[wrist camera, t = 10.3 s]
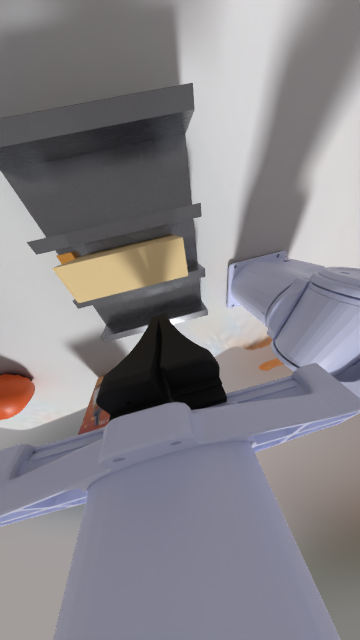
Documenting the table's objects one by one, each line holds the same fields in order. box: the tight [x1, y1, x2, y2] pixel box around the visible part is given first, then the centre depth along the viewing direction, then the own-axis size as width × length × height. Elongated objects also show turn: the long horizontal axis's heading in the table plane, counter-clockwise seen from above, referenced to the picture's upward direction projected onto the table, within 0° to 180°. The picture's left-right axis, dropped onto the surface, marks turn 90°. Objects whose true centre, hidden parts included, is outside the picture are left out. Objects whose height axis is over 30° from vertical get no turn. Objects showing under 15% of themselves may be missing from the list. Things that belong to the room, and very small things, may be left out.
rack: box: [0, 83, 208, 342], centre depth 15 cm, size 16×19×4 cm
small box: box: [78, 375, 110, 435], centre depth 27 cm, size 8×6×10 cm
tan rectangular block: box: [52, 234, 188, 303], centre depth 13 cm, size 10×3×7 cm, turn 100°
